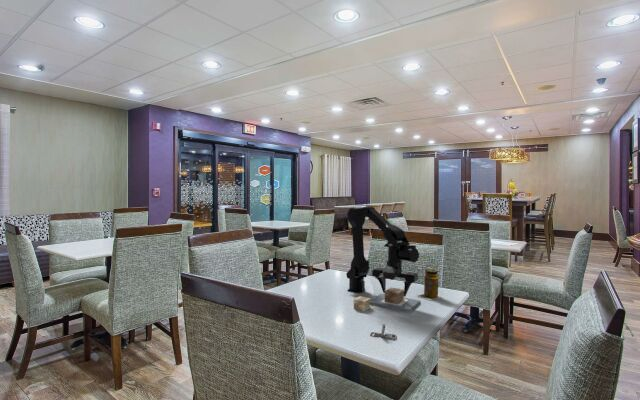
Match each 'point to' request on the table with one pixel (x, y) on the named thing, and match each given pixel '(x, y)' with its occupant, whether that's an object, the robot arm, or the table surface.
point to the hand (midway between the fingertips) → (394, 294)
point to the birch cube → (362, 303)
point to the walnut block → (394, 295)
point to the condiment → (430, 285)
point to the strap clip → (387, 336)
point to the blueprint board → (405, 305)
